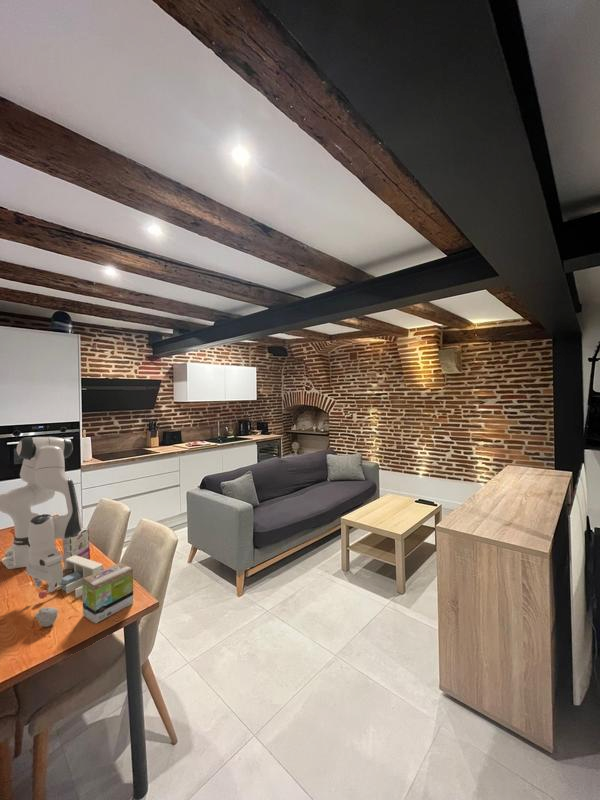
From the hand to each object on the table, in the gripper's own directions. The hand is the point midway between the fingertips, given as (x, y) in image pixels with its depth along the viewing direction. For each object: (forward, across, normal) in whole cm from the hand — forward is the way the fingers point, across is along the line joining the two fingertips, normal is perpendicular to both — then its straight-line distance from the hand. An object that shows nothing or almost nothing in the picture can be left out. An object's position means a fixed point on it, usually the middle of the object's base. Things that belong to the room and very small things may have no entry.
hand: (44, 588), depth 142 cm
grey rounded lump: (+6, +18, -8) cm, 20 cm away
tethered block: (+5, -1, +6) cm, 8 cm away
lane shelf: (+5, 0, +13) cm, 14 cm away
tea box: (+6, +30, +8) cm, 31 cm away
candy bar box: (+5, -19, +24) cm, 31 cm away
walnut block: (+5, -7, +11) cm, 14 cm away
